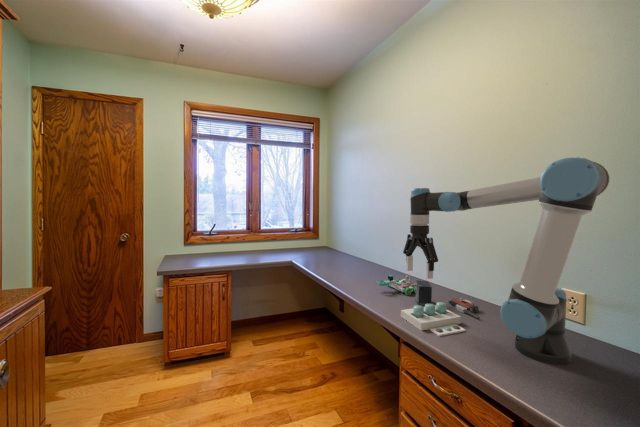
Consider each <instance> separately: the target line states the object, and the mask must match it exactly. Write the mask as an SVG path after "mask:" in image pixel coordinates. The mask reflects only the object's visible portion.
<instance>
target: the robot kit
mask: <svg viewBox="0 0 640 427" xmlns="http://www.w3.org/2000/svg"><path fill="white" fill-rule="evenodd" d="M376 284H378V285H379V286H381V287H382V286H383V287H385V286H387V288H388V287H389V288H393V289H396V290H398V291H399V292H402V293H404V294H405V295H406V296H411V294H412V293H414V294H416V283H413V281H411V278H410V276H409V275H405V278H403V279H401V278H396V279H395V280H394V275H391V274H388V275H387V280H383V279H379V280H376V281H375V285H376Z"/></svg>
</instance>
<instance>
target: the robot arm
mask: <svg viewBox="0 0 640 427" xmlns="http://www.w3.org/2000/svg"><path fill="white" fill-rule="evenodd" d="M609 183H610V174H609V172H608V170H607V169H606V168H605V166H604V165H602V164H600V163H598V162H596V161H592V160H591V159H588V158H584V157H583V158H582V157H565V158H561V159H557V160H556V161H553V162H552V163H550V164H549V165H547V166H546V168H544V170H543V171H542V173H541V175H540V177H539V176H538V177H533V178H528V179H524V180H519V181H513V182H507V183H502V184H497V185H493V186H486V187H482V188H481V187H480V188H475V189H472V190H465V191H459V192H455V191H444V192H443V191H442V192H437V191H436V192H431V191H430V188H429V187H418V188H417V187H414V188H412V189H411V191H410V198H409V200H410V214H409V215H410V221H409V222H410V223H409V224H411V225H410V226H409V227H410V228H409V229H410V230H409V231H410V234H407V238H406V243H405V244H404V248H403V251H402V253H403V254H405V257H406V258H405V259H406V260H405V261H406V272H409V271H410V272H412V271H413V269H414V264H413V263H414V261H413V260H414V255H413V253H414V252H415V250H416V248H420V249H422V250H421V251H422V252H423V254H424V256H425V259H426V269H425V270H426V274H425V275H426V277H425V278H426V279H427V280H431V279H434V270H435V263H438V262H439V258H438V256H437V252H436V248H435V245H434V239H433V237H428V234H430V225H429V224H430V212H445V213H449V212H457V211H459V212H460V211H468V210H472V209H473V210H474V209H480V208H487V207H494V206H502V205H503V206H505V205H509V204H517V203H524V202H533V201H538V203H539V205H540V207H541V208H542V210H541V214H540V218H539V221H538V224H537V227H536V230H535V234H534V236H533V238H532V243H531V246H530V249H529V253H528V256H527V259H526V262H525V265H524V268H523V272H522V274H521V277H520V281H519V282H516V283H513V285H512V286H511V290H510V293H509V296H508V299H507V300H505V301H504V302H503V303H502V305H501V306H500V311H499V315H500V319H501V321H502V322H503V324H504V326H505V327H506V328H507V330H509V331H511V332H512V333H513V334H515V338H514V347H515V349H516V350H517V351H518V352H520V353H521V355H524V356H526V357H528V358H530V359H533V360H536V361H538V362H541V363H546V364H551V365H568V364H569V363H571V362H572V350H571V349H570V346H569V343H568V340H567V337H566V317H567V316H566V314H567V301H568V298H567V293H566V291H565V290H564V289H562V288H559V287H558V285H559V282H560V279H561V277H562V273H563V270H564V268H565V265H566V262H567V260H568V256H569V254H570V251H571V248H572V244H573V243H574V240H575V237H576V233H577V230H578V228H579V226H580V222H581V219H582V217H583V216H585V215H586V214H588V213H591V212H592V210H593V208H594V205H595V203H596V200H597V197H598V196H600V195H601V194H603V193H604V192H605V191H606V190H607V188H608V186H609Z"/></svg>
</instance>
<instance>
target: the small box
mask: <svg viewBox="0 0 640 427" xmlns="http://www.w3.org/2000/svg"><path fill="white" fill-rule="evenodd" d="M415 284H416V293H415V302H416V304H417V305H420V306H423V307H425V304H432V299H433V298H432V294H433V293H432V292H433V287H432V285H431V284H430V282H429V280H418V279H416V281H415Z"/></svg>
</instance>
